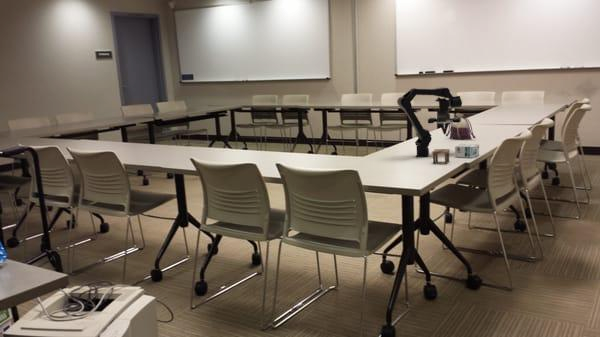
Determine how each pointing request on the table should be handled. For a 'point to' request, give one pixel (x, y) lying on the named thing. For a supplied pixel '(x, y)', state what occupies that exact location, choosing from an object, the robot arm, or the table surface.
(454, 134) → the pouch
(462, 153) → the light bulb box
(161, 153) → the table surface
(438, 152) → the walnut stool
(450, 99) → the robot arm
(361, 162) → the table surface
